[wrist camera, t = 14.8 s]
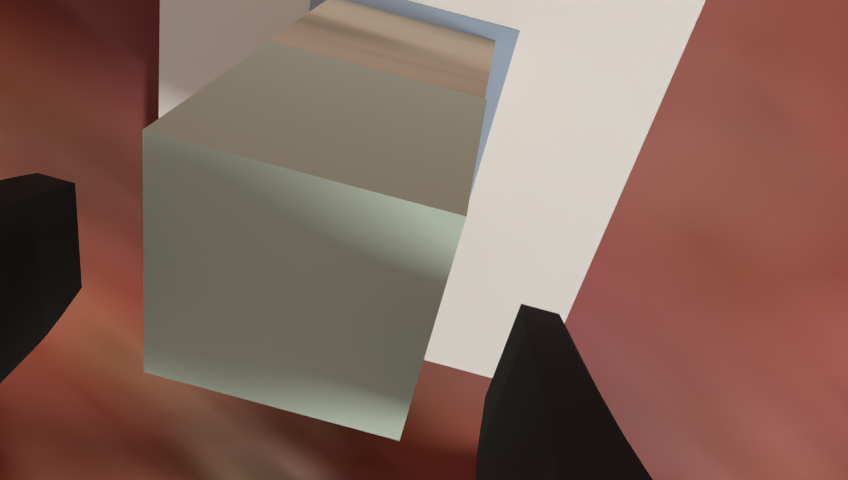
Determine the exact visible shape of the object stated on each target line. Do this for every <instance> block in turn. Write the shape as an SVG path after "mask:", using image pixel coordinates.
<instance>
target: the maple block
mask: <svg viewBox="0 0 848 480" xmlns="http://www.w3.org/2000/svg"><path fill="white" fill-rule="evenodd" d="M269 41H271V42H275V43H278V44H282V45H286V46H290V47H293V48H297V49H301V50H305V51H308V52H312V53H316V54H320V55H323V56H327V57H331V58H335V59H338V60H342V61H346V62H350V63H353V64H357V65H361V66H365V67H368V68H372V69H376V70H380V71H383V72H387V73H391V74H395V75H398V76H402V77H406V78H410V79H413V80H417V81H421V82H425V83H429V84H432V85H436V86H440V87H444V88H447V89H451V90H455V91H459V92H462V93H466V94H470V95H474V96H477V97H481V98H485V95H486V89H487V84H488V79H489V73H490V68H491V63H492V57H493V52H494V46H495V40H491V39H488V38H484V37H480V36H477V35H473V34H469V33H466V32H462V31H458V30H454V29H451V28H447V27H443V26H440V25H436V24H432V23H429V22H425V21H421V20H417V19H414V18H410V17H406V16H403V15H399V14H395V13H392V12H388V11H384V10H381V9H377V8H373V7H369V6H366V5H362V4H358V3H355V2H351V1H347V0H326V1H324V2H323V3H322V4H320V5H319V6H317V7H316V8H314V9H313V10H312V11H310V12H309V13H307V14H306V15H304V16H303V17H301V18H300V19H299V20H297V21H296V22H294V23H293V24H291V25H290V26H288V27H287V28H286V29H284V30H283V31H281V32H280V33H278V34H277V35H276V36H274V37H273V38H271V39H270V40H268V41H267V42H269Z"/></svg>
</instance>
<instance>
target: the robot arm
mask: <svg viewBox="0 0 848 480" xmlns="http://www.w3.org/2000/svg"><path fill="white" fill-rule="evenodd" d="M81 288H82V285H81V269H80V254H79V238H78V223H77V207H76V192H75V183H72V182H68V181H65V180H61V179H57V178H54V177H50V176H46V175H42V174H39V173H36V174H30V175H24V176H18V177H13V178H9V179H4V180H0V383H1V382H2V381H3V380H4V379H5V378H6V377H7V376H8V375H9V374H10V373H11V372H12V371H13V370H14V369H15V368H16V367H17V366H18V364H19V363H20V362H21V361H22V360H23V359H24V358H25V357H26V356H27V355H28V354H29V353H30V352H31V351H32V350H33V349H34V348H35V347H36V346H37V345H38V344H39V343H40V342H41V341H42V340H43V339H44V338H45V336H46V335H47V334H48V332H49V331H50V330H51V329H52V327H53V326H54V325H55V323H56V322H57V321H58V320H59V318H60V317H61V316H62V314H63V313H64V312H65V310H66V309H67V307H68V306H69V304H70V303H71V302H72V300H73V299H74V297H75V296H76V295H77V293H78V292H79V290H80V289H81ZM476 480H652V478H651V477H650V475H649V474H648V472H647V471H646V469H645V468H644V466H643V464H642V463H641V461H640V460H639V458H638V457H637V455H636V454H635V452H634V450H633V449H632V447H631V446H630V444H629V443H628V441H627V440H626V438H625V436H624V435H623V433H622V431H621V430H620V428H619V426H618V424H617V423H616V421H615V419H614V417H613V416H612V414H611V412H610V410H609V408H608V407H607V405H606V403H605V401H604V400H603V398H602V396H601V394H600V392H599V391H598V389H597V387H596V385H595V383H594V381H593V379H592V377H591V375H590V374H589V372H588V370H587V368H586V366H585V364H584V362H583V360H582V358H581V356H580V354H579V352H578V350H577V348H576V346H575V344H574V342H573V340H572V338H571V336H570V334H569V332H568V330H567V328H566V326H565V324H564V322H563V320H562V318H561V317H560V315H559V314H557V313H554V312H550V311H546V310H542V309H539V308H535V307H531V306H528V305H524V304H521V306H520V308H519V311H518V313H517V316H516V319H515V321H514V324H513V326H512V329H511V332H510V334H509V337H508V339H507V342H506V345H505V347H504V350H503V352H502V355H501V358H500V360H499V363H498V365H497V368H496V371H495V373H494V376H493V378H492V381H491V384H490V386H489V389H488V391H487V394H486V397H485V403H484V410H483V416H482V423H481V430H480V437H479V444H478V451H477V472H476Z"/></svg>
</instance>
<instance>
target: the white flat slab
mask: <svg viewBox="0 0 848 480" xmlns="http://www.w3.org/2000/svg"><path fill="white" fill-rule="evenodd" d="M324 1H326V0H160V31H159V118H160V117H162V116H163V115H165V114H166V113H167V112H169V111H170V110H172V109H173V108H175V107H176V106H177V105H179V104H180V103H182V102H183V101H185V100H186V99H187V98H189V97H190V96H192V95H193V94H195V93H196V92H197V91H199V90H200V89H202V88H203V87H205V86H206V85H207V84H209V83H210V82H212V81H213V80H215V79H216V78H217V77H219V76H220V75H222V74H223V73H225V72H226V71H227V70H229V69H230V68H232V67H233V66H235V65H236V64H237V63H239V62H240V61H242V60H243V59H245V58H246V57H247V56H249V55H250V54H252V53H253V52H255V51H256V50H257V49H259V48H260V47H262V46H263V45H265V44H266V43H267V41H268V40H270V39H271V38H273V37H274V36H276V35H277V34H278V33H280V32H281V31H283V30H284V29H286V28H287V27H288V26H290V25H291V24H293V23H294V22H296V21H297V20H299V19H300V18H301V17H303V16H304V15H306V14H307V13H309V12H310V11H312V10H313V9H314V8H316V7H317V6H319V5H320V4H322V3H323V2H324ZM347 1H351V2H355V3H358V4H362V5H366V6H369V7H373V8H377V9H381V10H384V11H388V12H392V13H395V14H399V15H403V16H406V17H410V18H414V19H417V20H421V21H425V22H429V23H432V24H436V25H440V26H443V27H447V28H451V29H454V30H458V31H462V32H466V33H469V34H473V35H477V36H480V37H484V38H488V39H491V40H495V46H494V52H493V57H492V63H491V68H490V73H489V79H488V84H487V89H486V95H485V99H487V103H486V109H485V114H484V120H483V126H482V131H481V137H480V143H479V148H478V154H477V160H476V165H475V171H474V177H473V182H472V188H471V194H470V199H469V205H468V211H467V217H466V220H465V223H464V227H463V230H462V233H461V237H460V240H459V243H458V247H457V250H456V253H455V257H454V260H453V263H452V267H451V270H450V274H449V277H448V280H447V284H446V287H445V290H444V294H443V297H442V300H441V304H440V307H439V310H438V314H437V317H436V320H435V324H434V327H433V331H432V334H431V337H430V341H429V344H428V347H427V351H426V354H425V357H424V360H427V361H431V362H434V363H438V364H442V365H445V366H449V367H453V368H456V369H460V370H464V371H468V372H471V373H475V374H479V375H482V376H486V377H490V378H493V376H494V373H495V371H496V368H497V365H498V363H499V360H500V358H501V355H502V352H503V350H504V347H505V345H506V342H507V339H508V337H509V334H510V332H511V329H512V326H513V324H514V321H515V319H516V316H517V313H518V311H519V308H520V306H521V304H524V305H528V306H531V307H535V308H539V309H542V310H546V311H550V312H554V313H557V314H559V315H560V317H561V318H562V320H563V322H564V323H565V321H566V319H567V316H568V314H569V312H570V309H571V307H572V305H573V303H574V300H575V298H576V296H577V293H578V291H579V289H580V287H581V284H582V282H583V280H584V277H585V275H586V273H587V270H588V268H589V266H590V264H591V261H592V259H593V257H594V254H595V252H596V250H597V248H598V245H599V243H600V241H601V238H602V236H603V234H604V232H605V229H606V227H607V225H608V222H609V220H610V218H611V216H612V213H613V211H614V209H615V206H616V204H617V202H618V200H619V197H620V195H621V193H622V190H623V188H624V186H625V184H626V181H627V179H628V177H629V174H630V172H631V170H632V167H633V165H634V163H635V161H636V158H637V156H638V154H639V151H640V149H641V147H642V145H643V142H644V140H645V138H646V135H647V133H648V131H649V129H650V126H651V124H652V122H653V119H654V117H655V115H656V113H657V110H658V108H659V106H660V103H661V101H662V99H663V97H664V94H665V92H666V90H667V87H668V85H669V83H670V81H671V78H672V76H673V74H674V71H675V69H676V67H677V65H678V62H679V60H680V58H681V55H682V53H683V51H684V48H685V46H686V44H687V42H688V39H689V37H690V35H691V32H692V30H693V28H694V26H695V23H696V21H697V19H698V16H699V14H700V12H701V10H702V7H703V5H704V3H705V0H347Z"/></svg>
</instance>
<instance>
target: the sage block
mask: <svg viewBox="0 0 848 480" xmlns="http://www.w3.org/2000/svg"><path fill="white" fill-rule="evenodd" d="M486 103H487V99H485V98H481V97H477V96H474V95H470V94H466V93H462V92H459V91H455V90H451V89H447V88H444V87H440V86H436V85H432V84H429V83H425V82H421V81H417V80H413V79H410V78H406V77H402V76H398V75H395V74H391V73H387V72H383V71H380V70H376V69H372V68H368V67H365V66H361V65H357V64H353V63H350V62H346V61H342V60H338V59H335V58H331V57H327V56H323V55H320V54H316V53H312V52H308V51H305V50H301V49H297V48H293V47H290V46H286V45H282V44H278V43H275V42H271V41H269V42H267V43H266V44H265V45H263V46H262V47H260V48H259V49H257V50H256V51H255V52H253V53H252V54H250V55H249V56H247V57H246V58H245V59H243V60H242V61H240V62H239V63H237V64H236V65H235V66H233V67H232V68H230V69H229V70H227V71H226V72H225V73H223V74H222V75H220V76H219V77H217V78H216V79H215V80H213V81H212V82H210V83H209V84H207V85H206V86H205V87H203V88H202V89H200V90H199V91H197V92H196V93H195V94H193V95H192V96H190V97H189V98H187V99H186V100H185V101H183V102H182V103H180V104H179V105H177V106H176V107H175V108H173V109H172V110H170V111H169V112H167V113H166V114H165V115H163V116H162V117H160V118H159V119H157V120H156V121H155V122H153V123H152V124H150V125H149V126H147V127H146V128H145V129H143V318H144V372H145V373H149V374H153V375H156V376H160V377H164V378H168V379H171V380H175V381H179V382H182V383H186V384H190V385H194V386H197V387H201V388H205V389H208V390H212V391H216V392H220V393H223V394H227V395H231V396H234V397H238V398H242V399H246V400H249V401H253V402H257V403H260V404H264V405H268V406H272V407H275V408H279V409H283V410H286V411H290V412H294V413H297V414H301V415H305V416H309V417H312V418H316V419H320V420H323V421H327V422H331V423H335V424H338V425H342V426H346V427H349V428H353V429H357V430H361V431H364V432H368V433H372V434H375V435H379V436H383V437H387V438H390V439H394V440H398V441H400V438H401V434H402V431H403V428H404V424H405V421H406V418H407V414H408V411H409V408H410V404H411V401H412V398H413V394H414V391H415V387H416V384H417V381H418V377H419V374H420V371H421V367H422V364H423V361H424V357H425V354H426V351H427V347H428V344H429V341H430V337H431V334H432V331H433V327H434V324H435V320H436V317H437V314H438V310H439V307H440V304H441V300H442V297H443V294H444V290H445V287H446V284H447V280H448V277H449V274H450V270H451V267H452V263H453V260H454V257H455V253H456V250H457V247H458V243H459V240H460V237H461V233H462V230H463V227H464V223H465V220H466V217H467V211H468V205H469V199H470V194H471V188H472V182H473V177H474V171H475V165H476V160H477V154H478V148H479V143H480V137H481V131H482V126H483V120H484V114H485V109H486Z"/></svg>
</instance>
